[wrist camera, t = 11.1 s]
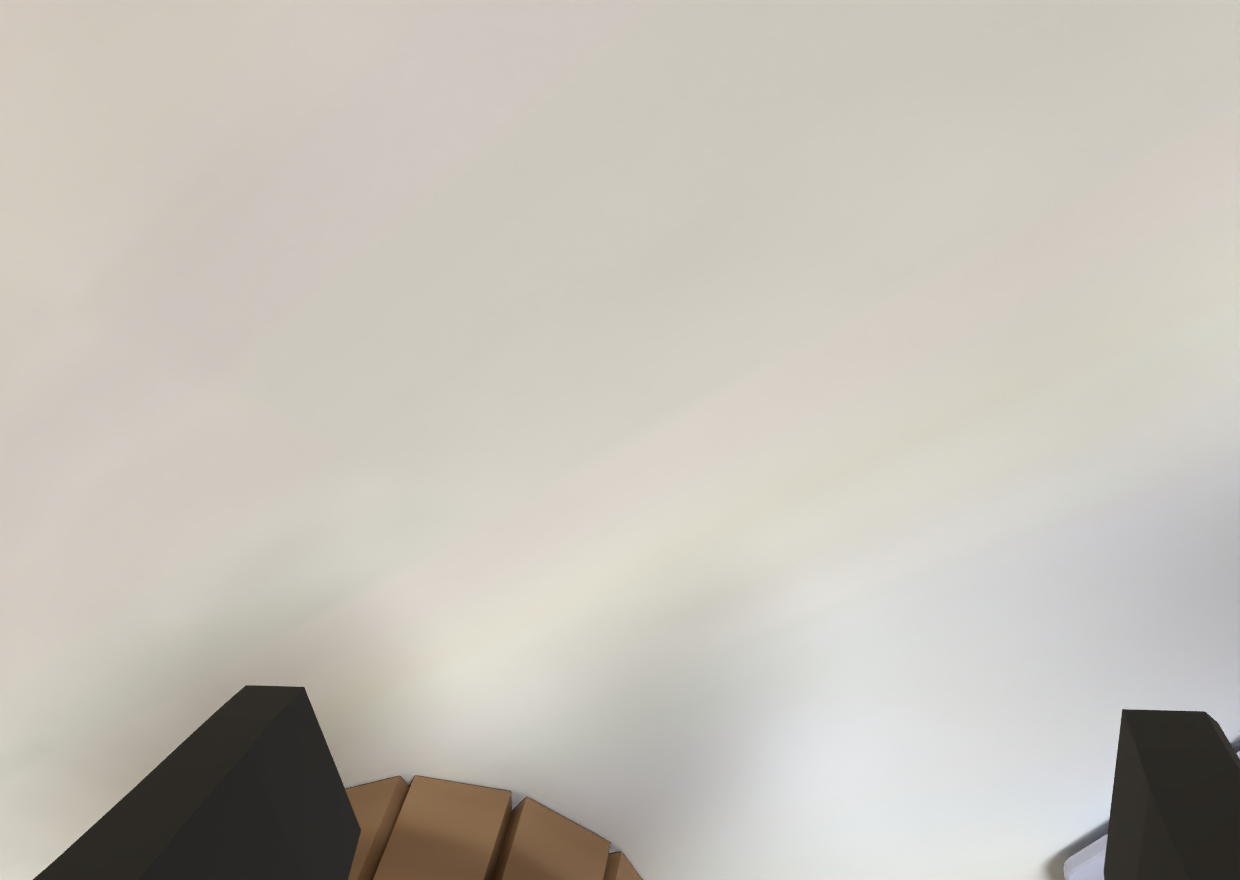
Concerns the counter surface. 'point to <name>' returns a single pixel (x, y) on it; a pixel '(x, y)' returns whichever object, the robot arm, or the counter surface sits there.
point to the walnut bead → (471, 836)
